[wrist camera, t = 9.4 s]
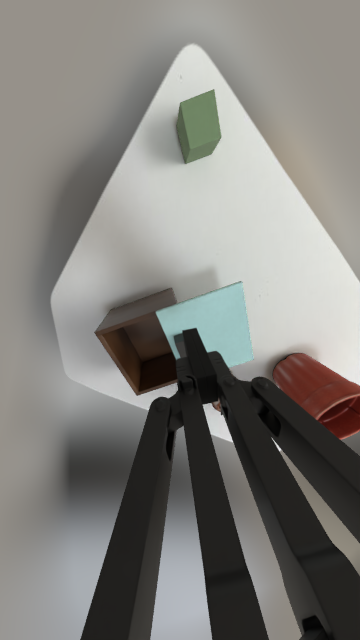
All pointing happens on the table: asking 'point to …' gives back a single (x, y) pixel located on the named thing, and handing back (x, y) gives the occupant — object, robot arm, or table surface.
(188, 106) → the block
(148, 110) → the table surface
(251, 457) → the robot arm
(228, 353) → the light blue board
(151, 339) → the case
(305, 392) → the flower pot
